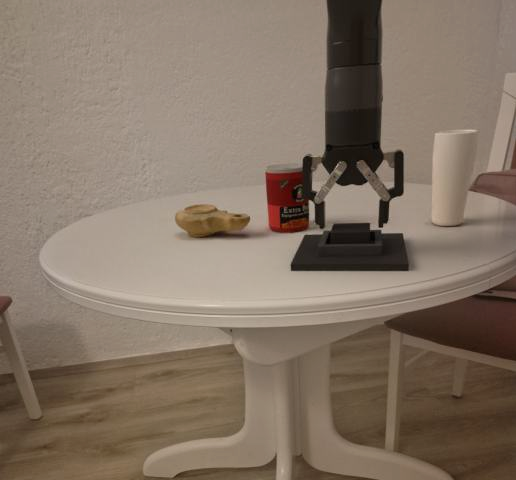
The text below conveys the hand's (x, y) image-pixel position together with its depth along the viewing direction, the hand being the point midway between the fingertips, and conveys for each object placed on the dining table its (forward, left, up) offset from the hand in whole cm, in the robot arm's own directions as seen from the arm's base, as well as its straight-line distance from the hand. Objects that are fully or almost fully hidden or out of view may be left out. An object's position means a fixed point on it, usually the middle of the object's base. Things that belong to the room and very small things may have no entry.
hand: (351, 227), depth 72 cm
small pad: (0, 0, -3) cm, 3 cm away
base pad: (0, 0, -4) cm, 4 cm away
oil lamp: (+26, -13, -4) cm, 29 cm away
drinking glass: (-16, -18, -4) cm, 24 cm away
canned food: (+12, -17, -4) cm, 21 cm away
